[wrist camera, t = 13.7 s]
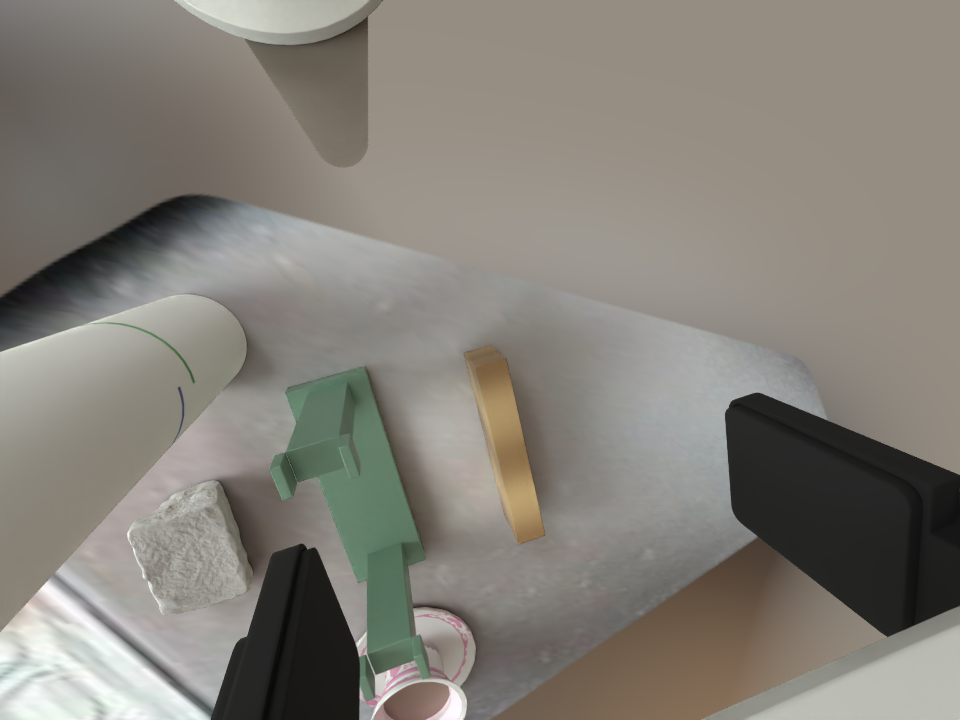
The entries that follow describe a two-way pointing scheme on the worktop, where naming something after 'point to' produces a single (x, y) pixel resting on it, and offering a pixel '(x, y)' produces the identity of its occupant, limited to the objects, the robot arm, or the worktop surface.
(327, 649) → the robot arm
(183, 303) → the cylindrical container
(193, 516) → the grey stone block
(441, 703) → the teacup
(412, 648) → the hanger stand
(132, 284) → the worktop surface
